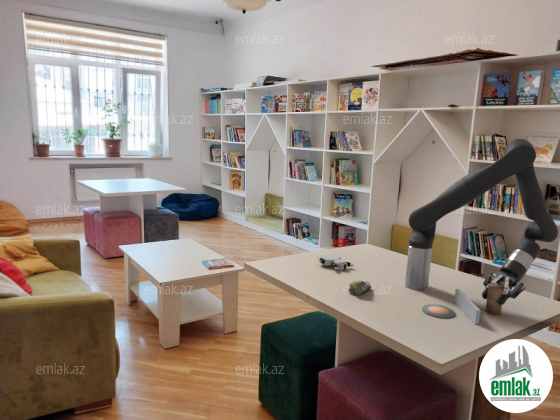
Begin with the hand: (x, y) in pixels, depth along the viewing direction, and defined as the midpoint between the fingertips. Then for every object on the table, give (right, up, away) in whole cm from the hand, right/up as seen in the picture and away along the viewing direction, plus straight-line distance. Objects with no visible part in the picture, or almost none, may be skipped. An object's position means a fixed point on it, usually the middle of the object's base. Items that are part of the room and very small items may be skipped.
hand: (491, 300), depth 152 cm
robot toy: (-50, +5, +49) cm, 70 cm away
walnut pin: (+1, -5, +2) cm, 5 cm away
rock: (-43, 0, +18) cm, 47 cm away
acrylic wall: (-9, -4, +1) cm, 10 cm away
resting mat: (-19, -4, +1) cm, 19 cm away
